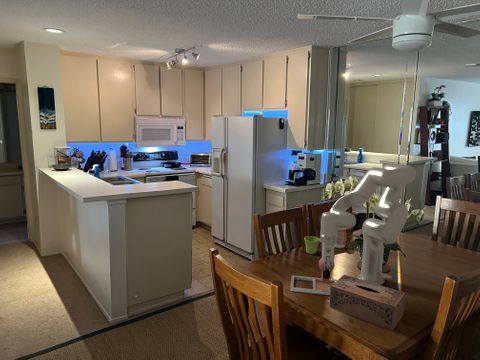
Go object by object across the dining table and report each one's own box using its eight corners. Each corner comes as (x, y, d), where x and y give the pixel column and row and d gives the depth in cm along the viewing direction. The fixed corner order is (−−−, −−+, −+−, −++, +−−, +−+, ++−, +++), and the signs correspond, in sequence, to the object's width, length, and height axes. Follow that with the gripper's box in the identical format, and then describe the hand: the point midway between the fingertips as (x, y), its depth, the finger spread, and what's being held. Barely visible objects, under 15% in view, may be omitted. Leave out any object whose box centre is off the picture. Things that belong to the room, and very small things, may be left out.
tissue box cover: (403, 315, 141) (405, 292, 139) (392, 331, 130) (395, 306, 128) (342, 295, 157) (344, 274, 155) (329, 307, 146) (330, 285, 144)
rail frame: (336, 282, 168) (336, 279, 168) (339, 296, 155) (339, 293, 154) (291, 278, 172) (291, 275, 172) (290, 291, 159) (290, 288, 159)
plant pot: (303, 249, 213) (303, 235, 212) (318, 250, 212) (319, 236, 211) (303, 254, 204) (304, 240, 203) (319, 255, 203) (320, 241, 202)
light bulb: (330, 286, 157) (332, 261, 155) (315, 282, 161) (317, 257, 159) (335, 280, 163) (336, 256, 161) (320, 276, 167) (322, 253, 165)
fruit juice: (327, 243, 224) (330, 202, 220) (340, 242, 226) (343, 201, 222) (334, 248, 215) (337, 205, 211) (348, 247, 217) (351, 204, 213)
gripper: (338, 245, 149) (335, 284, 152) (335, 233, 166) (332, 268, 169) (320, 244, 151) (318, 282, 154) (319, 232, 168) (317, 266, 171)
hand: (325, 274), depth 161 cm, fingers closed on light bulb, 6 cm apart
